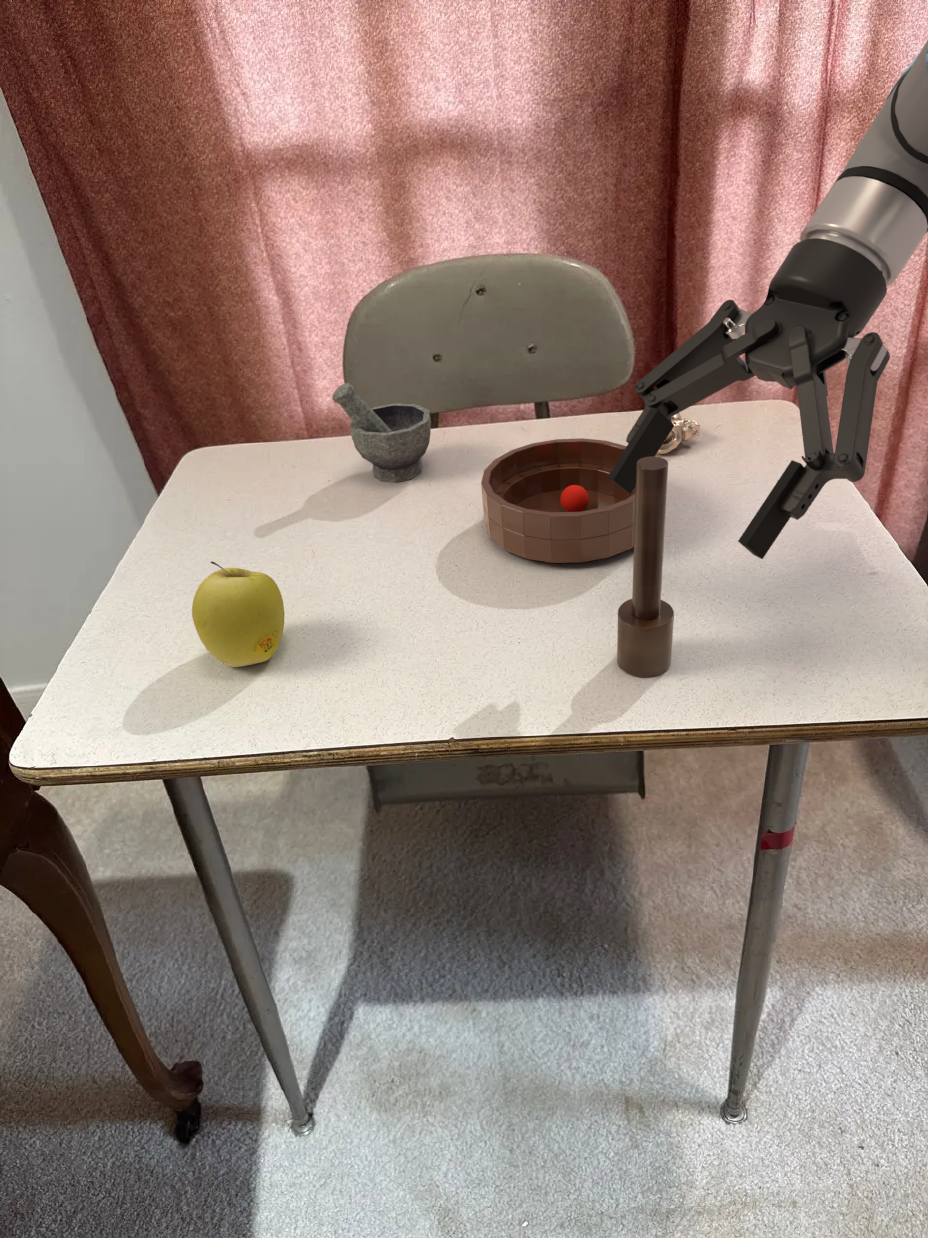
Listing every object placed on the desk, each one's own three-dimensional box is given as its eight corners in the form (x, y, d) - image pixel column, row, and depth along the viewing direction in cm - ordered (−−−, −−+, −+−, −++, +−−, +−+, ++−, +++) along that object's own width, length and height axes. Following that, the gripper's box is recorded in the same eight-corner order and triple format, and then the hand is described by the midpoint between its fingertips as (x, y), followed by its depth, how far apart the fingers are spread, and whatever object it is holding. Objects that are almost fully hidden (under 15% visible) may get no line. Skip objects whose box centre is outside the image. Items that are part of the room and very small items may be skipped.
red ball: (583, 492, 91) (594, 512, 89) (557, 503, 91) (568, 523, 89) (580, 474, 88) (591, 495, 87) (554, 486, 88) (565, 506, 87)
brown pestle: (678, 673, 68) (693, 471, 58) (624, 681, 68) (630, 480, 57) (661, 641, 72) (672, 446, 61) (611, 648, 71) (613, 453, 61)
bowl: (658, 568, 81) (661, 514, 77) (477, 570, 83) (472, 517, 80) (648, 485, 95) (650, 435, 91) (494, 489, 98) (490, 441, 94)
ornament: (699, 456, 99) (701, 427, 97) (640, 456, 101) (641, 427, 99) (698, 429, 106) (700, 401, 104) (642, 429, 107) (643, 402, 105)
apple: (231, 689, 70) (186, 579, 66) (204, 669, 76) (163, 568, 73) (315, 650, 73) (277, 544, 70) (283, 634, 80) (246, 536, 77)
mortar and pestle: (426, 448, 108) (414, 357, 102) (446, 477, 101) (435, 380, 94) (341, 467, 106) (323, 374, 99) (355, 497, 99) (337, 400, 92)
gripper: (1027, 327, 54) (838, 602, 57) (732, 270, 72) (598, 482, 75) (1004, 257, 49) (797, 563, 52) (691, 214, 67) (549, 444, 70)
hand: (679, 516), depth 63 cm, fingers open, 13 cm apart
